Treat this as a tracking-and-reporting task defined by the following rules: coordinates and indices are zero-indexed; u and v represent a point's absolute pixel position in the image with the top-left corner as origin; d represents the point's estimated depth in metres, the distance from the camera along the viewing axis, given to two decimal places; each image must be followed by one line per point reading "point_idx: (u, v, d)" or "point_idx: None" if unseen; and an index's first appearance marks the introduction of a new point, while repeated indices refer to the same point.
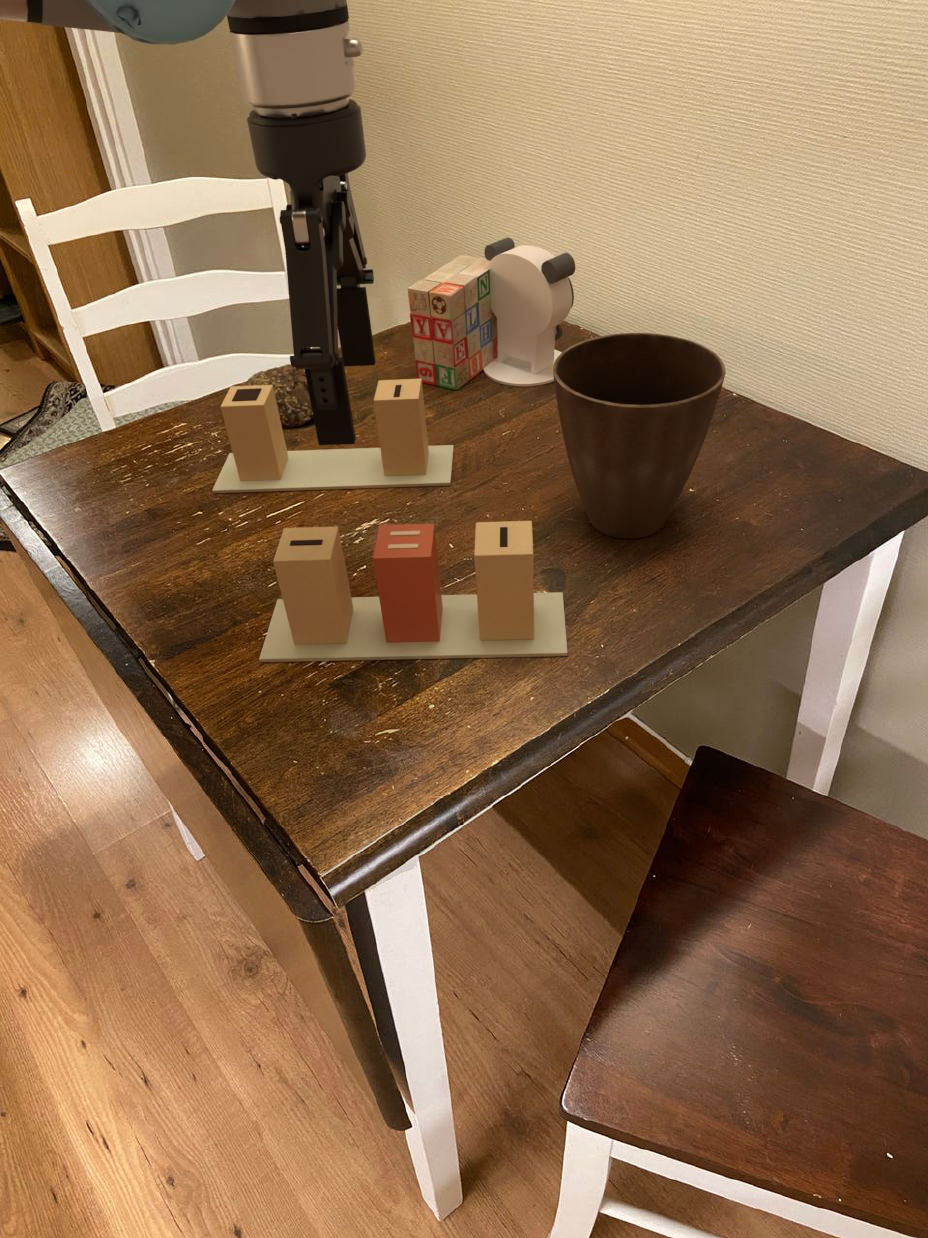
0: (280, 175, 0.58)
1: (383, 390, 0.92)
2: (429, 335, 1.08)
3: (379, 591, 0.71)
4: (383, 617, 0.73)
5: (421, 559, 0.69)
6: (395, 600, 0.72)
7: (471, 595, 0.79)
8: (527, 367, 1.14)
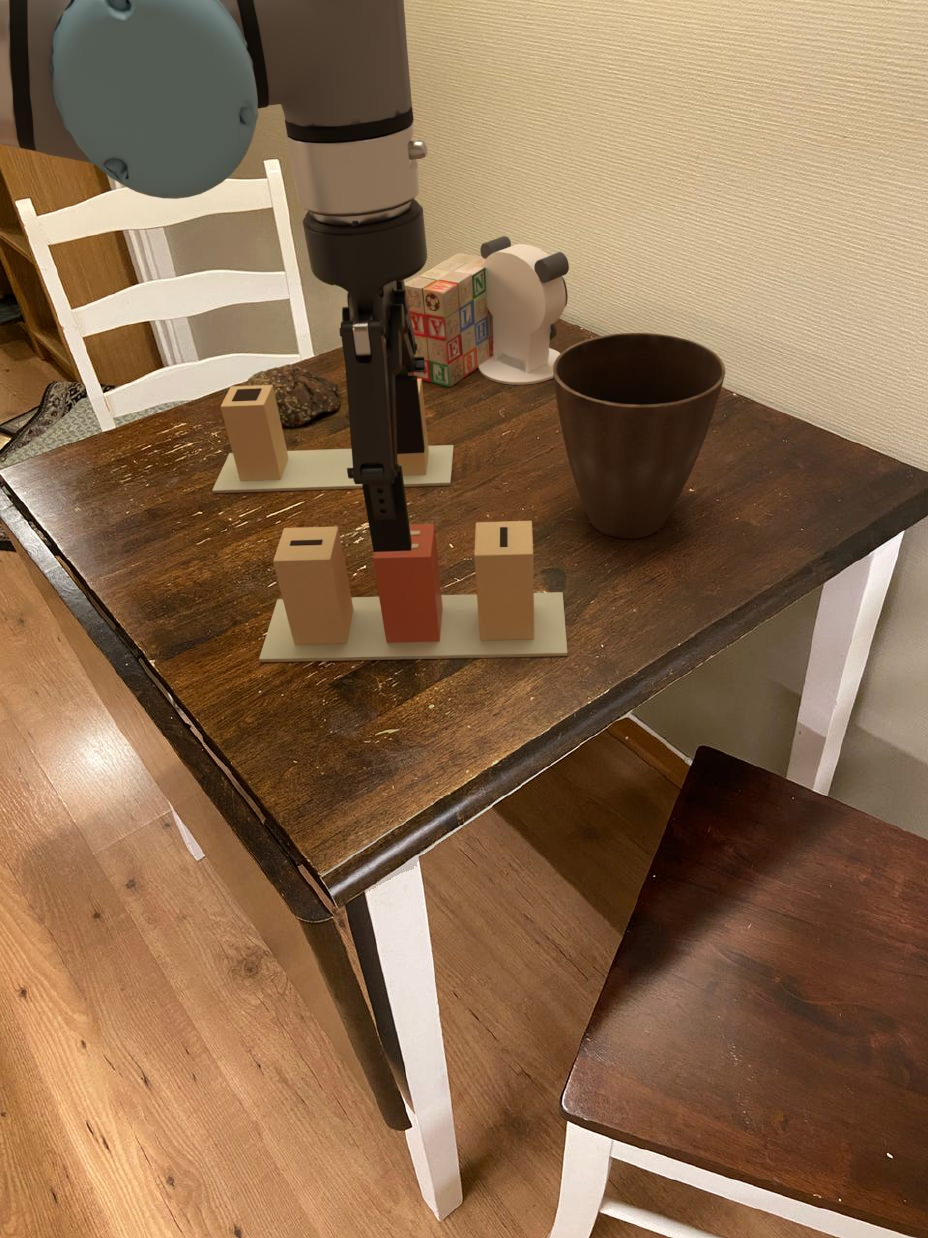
0: (339, 282, 0.54)
1: None
2: (423, 332, 1.09)
3: (379, 591, 0.71)
4: (383, 617, 0.73)
5: (421, 559, 0.69)
6: (395, 600, 0.72)
7: (471, 595, 0.79)
8: (522, 365, 1.15)
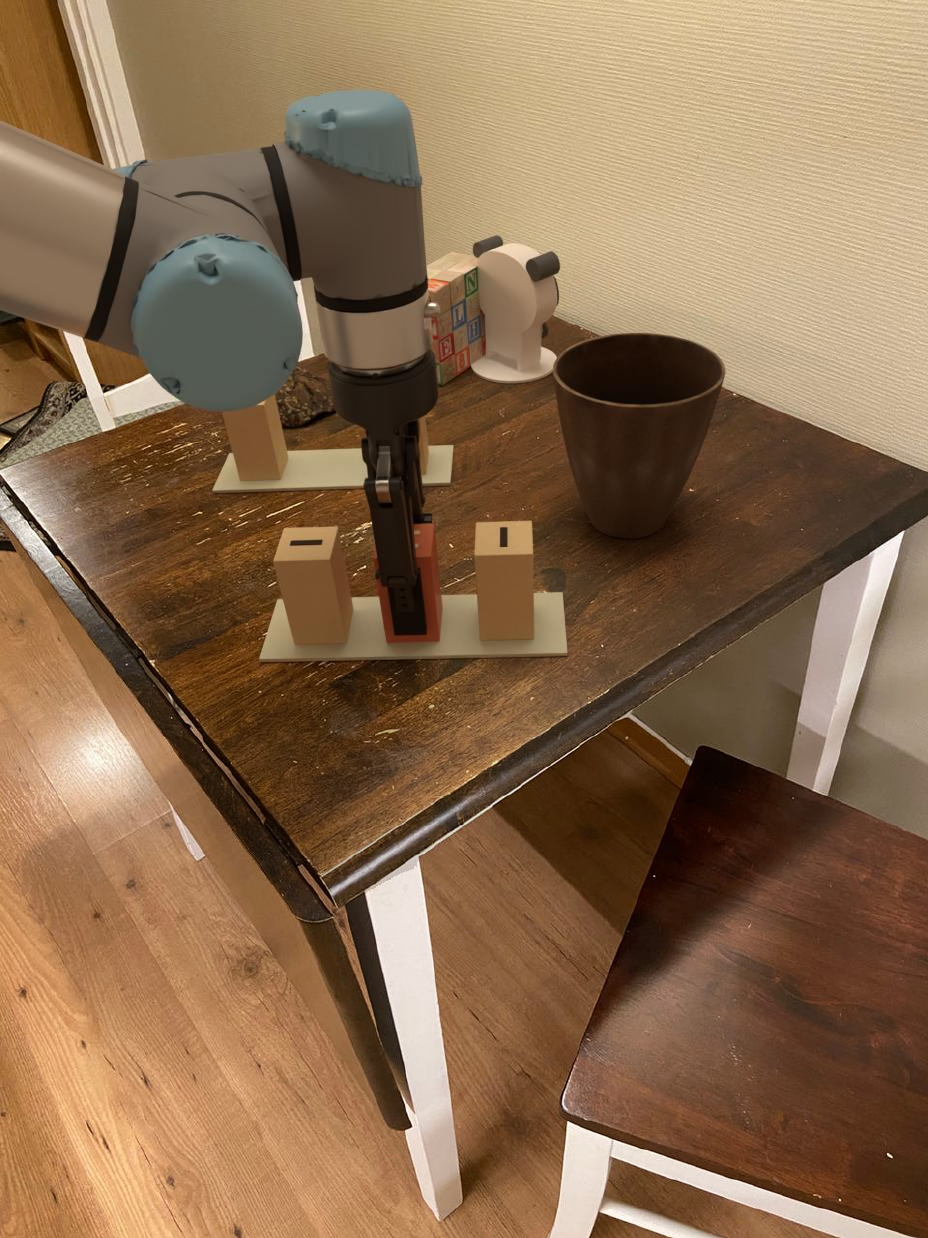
0: (359, 423, 0.60)
1: None
2: None
3: (379, 591, 0.71)
4: (383, 617, 0.73)
5: (421, 559, 0.69)
6: None
7: (471, 595, 0.79)
8: (514, 364, 1.15)
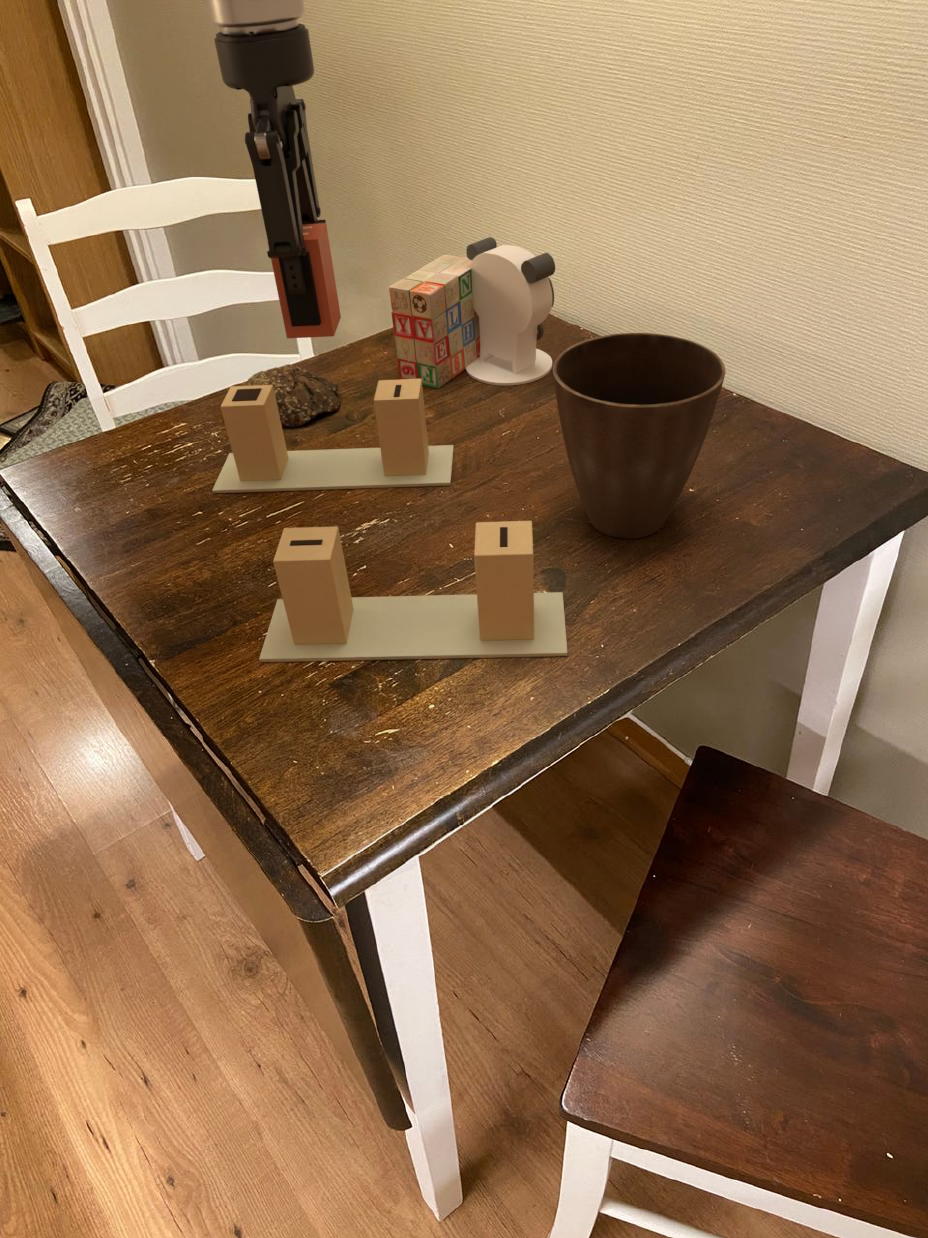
0: (241, 84, 0.70)
1: (383, 390, 0.92)
2: (410, 334, 1.09)
3: (276, 279, 0.81)
4: (282, 309, 0.83)
5: (310, 242, 0.79)
6: None
7: (471, 595, 0.79)
8: (509, 366, 1.15)
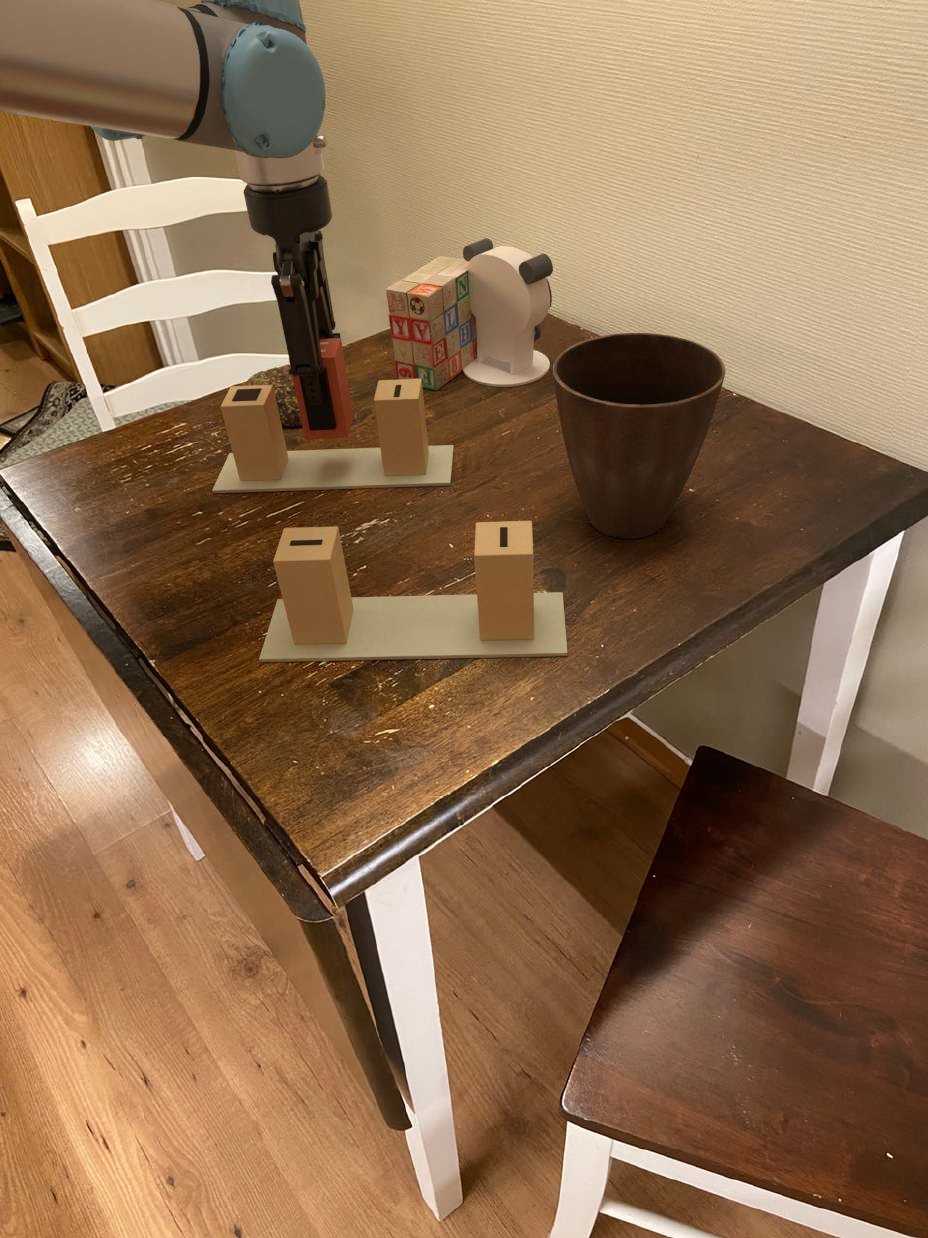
0: (268, 232, 0.78)
1: (383, 390, 0.92)
2: (408, 336, 1.09)
3: (296, 390, 0.90)
4: (301, 415, 0.91)
5: (327, 359, 0.87)
6: None
7: (471, 595, 0.79)
8: (506, 367, 1.14)
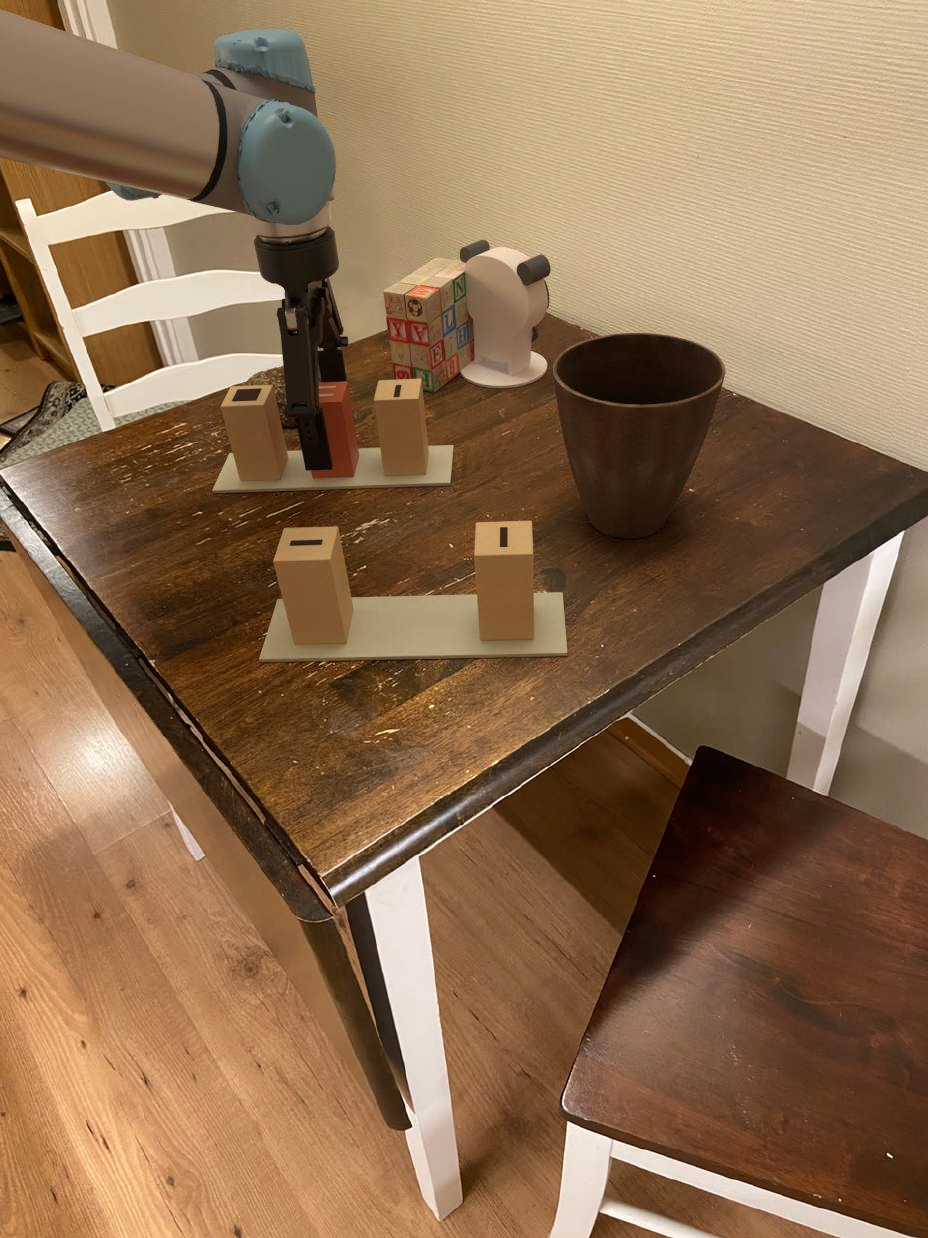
0: (277, 282, 0.81)
1: (383, 390, 0.92)
2: (405, 338, 1.08)
3: None
4: None
5: (334, 403, 0.90)
6: None
7: (471, 595, 0.79)
8: (504, 369, 1.14)
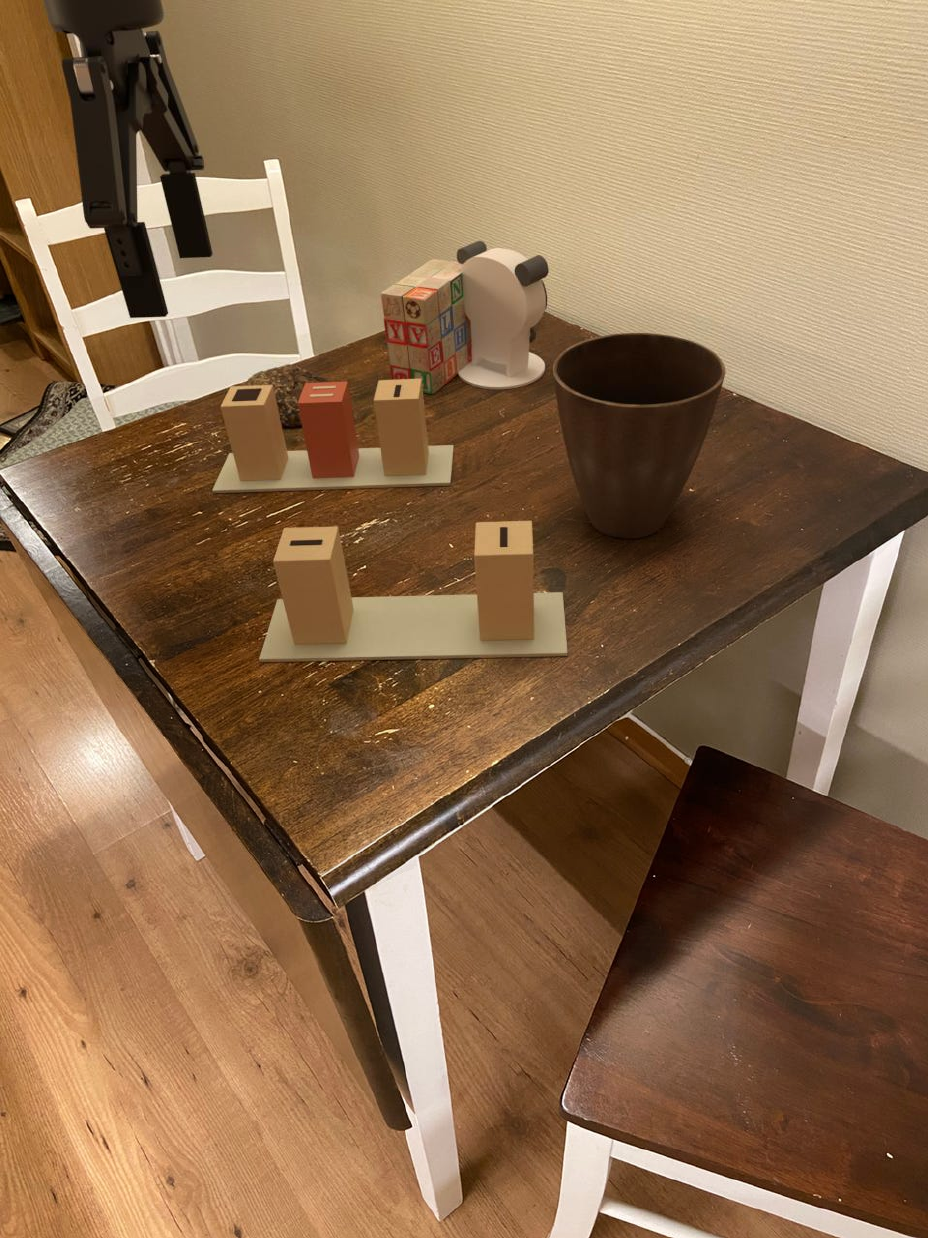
0: (67, 26, 0.57)
1: (383, 390, 0.92)
2: (403, 340, 1.08)
3: (304, 432, 0.93)
4: (308, 455, 0.94)
5: (334, 403, 0.90)
6: (317, 440, 0.93)
7: (471, 595, 0.79)
8: (502, 370, 1.14)
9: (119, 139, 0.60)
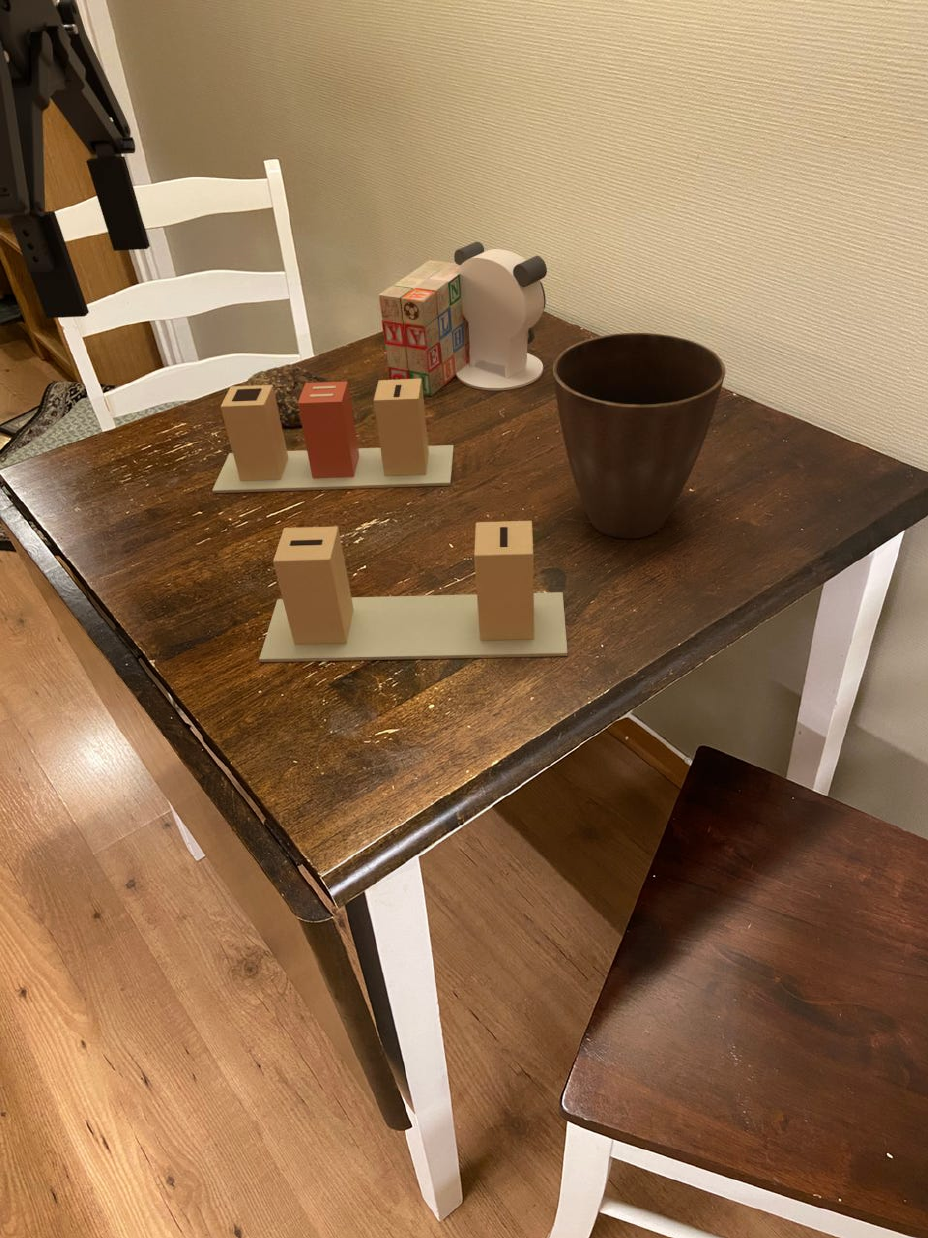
0: None
1: (383, 390, 0.92)
2: (402, 341, 1.07)
3: (304, 432, 0.93)
4: (308, 455, 0.94)
5: (334, 403, 0.90)
6: (317, 440, 0.93)
7: (471, 595, 0.79)
8: (500, 371, 1.14)
9: (21, 118, 0.54)
